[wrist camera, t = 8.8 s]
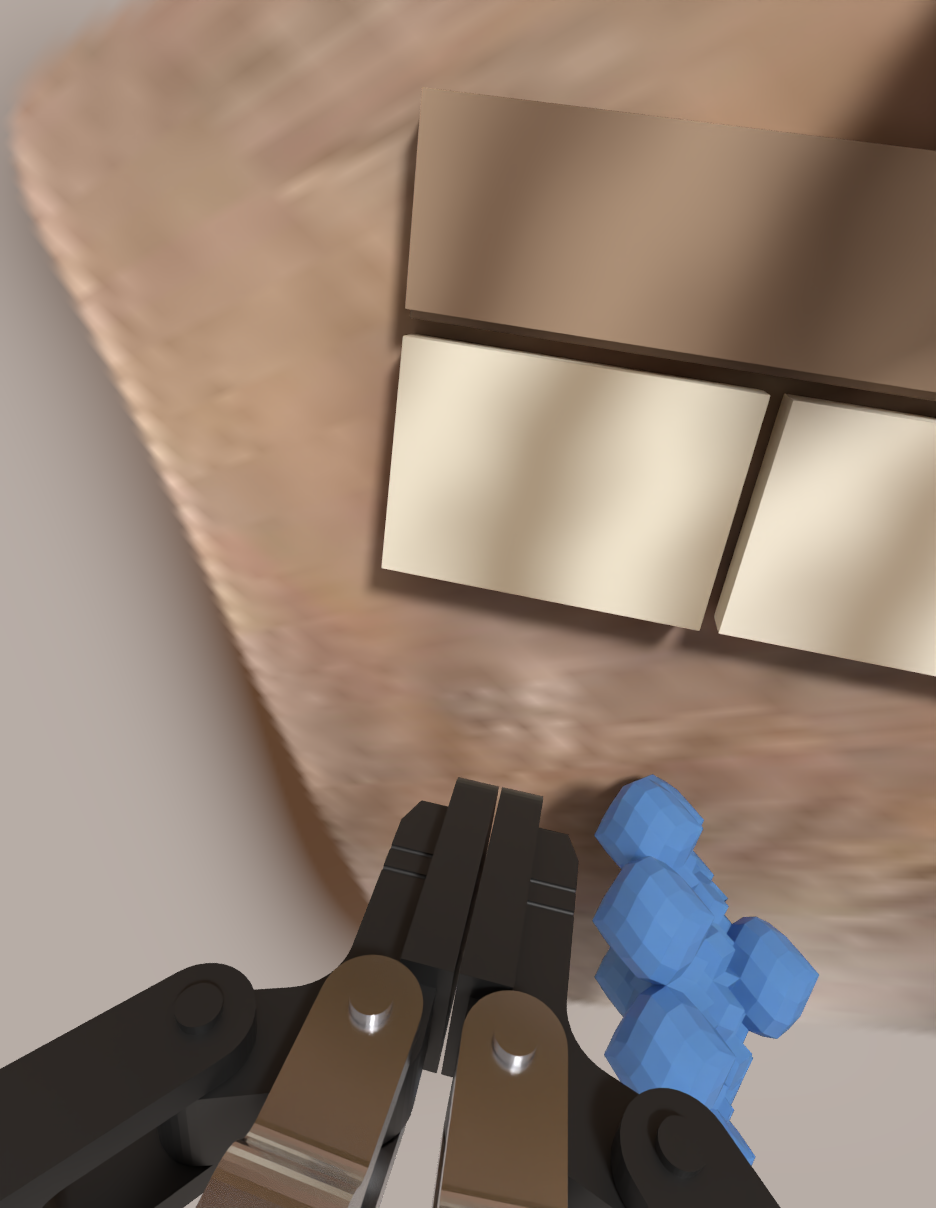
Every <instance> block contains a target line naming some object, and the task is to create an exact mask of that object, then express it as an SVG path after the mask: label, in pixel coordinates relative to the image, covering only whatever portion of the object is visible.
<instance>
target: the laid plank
mask: <svg viewBox="0 0 936 1208" xmlns="http://www.w3.org/2000/svg"><path fill="white" fill-rule="evenodd" d="M405 309H410V318H415V319H421V320H427V321H433V322H440V323H446V324H452V325H459V326H465V327H471V328H477V329H484V330H490V331H496V332H503V333H509V334H515V335H521V336H528V337H534V338H540V339H547V340H553V341H559V342H565V343H572V344H578V345H584V346H591V347H597V348H603V349H609V350H616V351H622V352H628V353H635V354H641V355H647V356H653V357H660V358H666V359H672V360H679V361H685V362H691V363H697V364H704V365H710V366H716V367H723V368H729V369H735V370H741V371H748V372H754V373H760V374H767V375H773V376H779V377H786V378H792V379H798V380H804V381H811V382H817V383H823V384H830V385H836V386H842V387H848V388H855V389H861V390H867V391H874V392H880V393H886V394H892V395H899V396H905V397H911V398H918V399H924V400H930V401H936V151H933V150H925V149H917V148H909V147H901V146H893V145H885V144H877V143H869V142H861V141H853V140H845V139H837V138H829V137H821V136H813V135H804V134H796V133H788V132H780V131H772V130H764V129H756V128H748V127H740V126H732V125H724V124H716V123H708V122H700V121H692V120H683V119H675V118H667V117H659V116H651V115H643V114H635V113H627V112H619V111H611V110H603V109H595V108H587V107H579V106H571V105H562V104H554V103H546V102H538V101H530V100H522V99H514V98H506V97H498V96H490V95H482V94H474V93H466V92H458V91H450V90H442V89H433V88H425V87H422V91H421V104H420V118H419V131H418V144H417V157H416V171H415V184H414V197H413V210H412V224H411V237H410V250H409V263H408V277H407V290H406V303H405Z"/></svg>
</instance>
